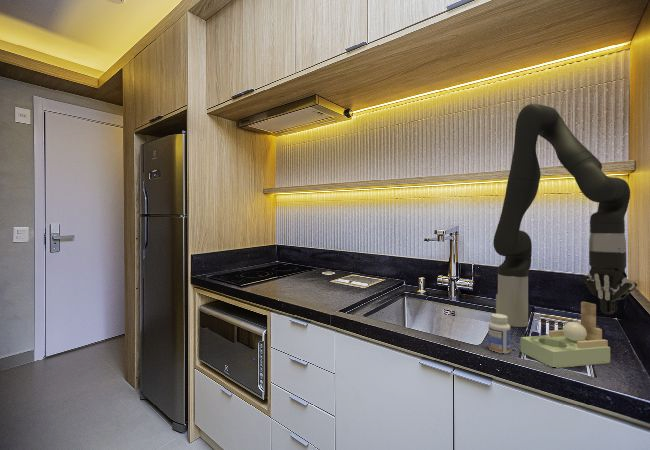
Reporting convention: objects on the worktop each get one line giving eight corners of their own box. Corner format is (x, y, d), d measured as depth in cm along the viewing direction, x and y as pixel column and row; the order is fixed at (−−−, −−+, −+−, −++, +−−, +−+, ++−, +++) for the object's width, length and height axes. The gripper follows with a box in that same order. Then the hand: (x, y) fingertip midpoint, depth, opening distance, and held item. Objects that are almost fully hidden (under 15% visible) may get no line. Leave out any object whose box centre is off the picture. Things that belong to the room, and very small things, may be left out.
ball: (558, 338, 84) (558, 320, 84) (573, 337, 85) (573, 319, 85) (575, 345, 80) (576, 326, 80) (592, 344, 80) (592, 324, 80)
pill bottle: (502, 346, 89) (503, 312, 89) (515, 354, 84) (515, 318, 84) (484, 346, 89) (484, 312, 89) (495, 354, 84) (495, 318, 84)
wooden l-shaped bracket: (575, 335, 86) (575, 300, 86) (579, 335, 86) (579, 300, 86) (598, 343, 80) (598, 306, 80) (601, 343, 80) (602, 305, 80)
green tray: (520, 351, 85) (520, 331, 85) (572, 347, 88) (572, 328, 88) (553, 368, 75) (553, 345, 75) (610, 362, 78) (610, 341, 78)
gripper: (572, 248, 90) (572, 307, 90) (623, 252, 77) (623, 321, 77) (593, 248, 92) (593, 306, 91) (647, 251, 79) (647, 319, 78)
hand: (607, 313), depth 84 cm, fingers closed
